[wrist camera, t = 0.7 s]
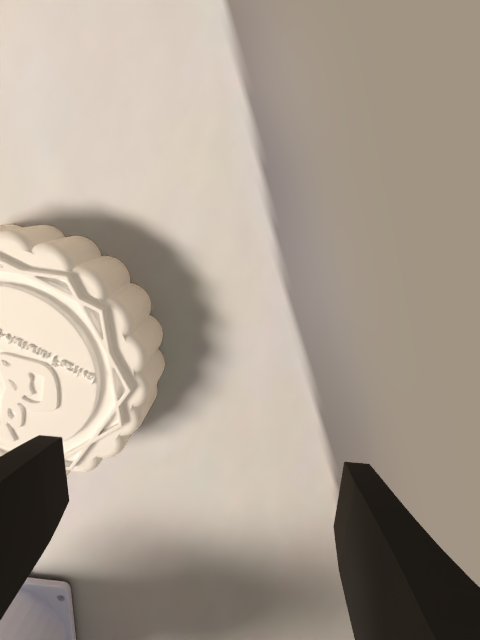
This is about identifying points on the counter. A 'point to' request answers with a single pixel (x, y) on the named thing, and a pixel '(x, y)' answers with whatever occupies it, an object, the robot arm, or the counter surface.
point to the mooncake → (72, 346)
